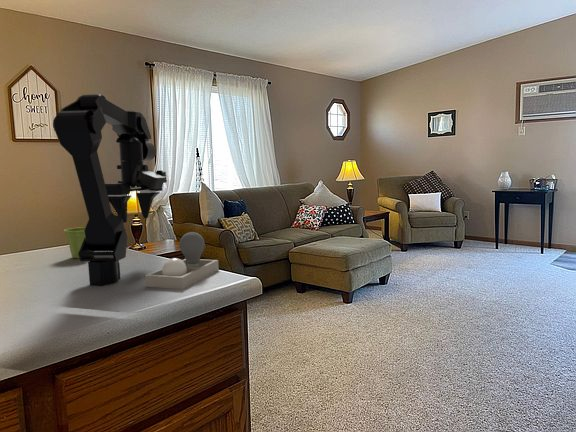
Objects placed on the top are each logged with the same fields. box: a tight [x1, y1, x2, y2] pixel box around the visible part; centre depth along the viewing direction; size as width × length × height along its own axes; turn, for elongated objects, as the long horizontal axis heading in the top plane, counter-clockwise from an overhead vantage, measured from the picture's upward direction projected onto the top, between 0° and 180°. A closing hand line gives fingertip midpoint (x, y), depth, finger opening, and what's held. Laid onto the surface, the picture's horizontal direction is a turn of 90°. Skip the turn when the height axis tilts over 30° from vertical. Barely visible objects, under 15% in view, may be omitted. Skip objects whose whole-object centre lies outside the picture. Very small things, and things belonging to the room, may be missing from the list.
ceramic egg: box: [161, 257, 187, 276], centre depth 98 cm, size 5×5×5 cm
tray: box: [144, 258, 220, 290], centre depth 102 cm, size 17×9×3 cm, turn 163°
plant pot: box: [63, 226, 86, 260], centre depth 134 cm, size 9×9×9 cm
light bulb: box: [179, 231, 206, 268], centre depth 106 cm, size 6×6×10 cm
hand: (135, 220), depth 117 cm, fingers open, 9 cm apart
